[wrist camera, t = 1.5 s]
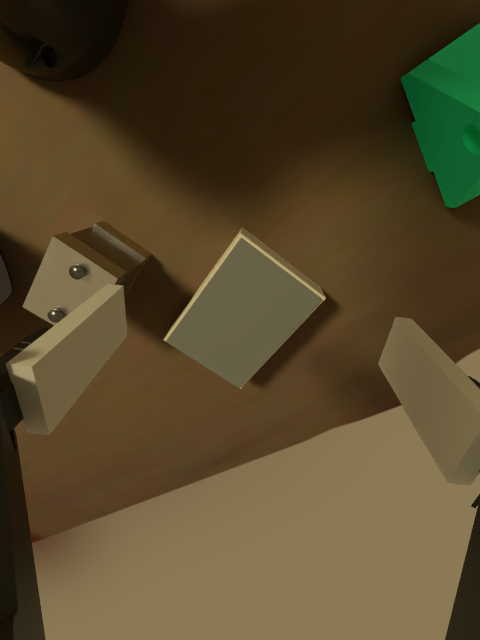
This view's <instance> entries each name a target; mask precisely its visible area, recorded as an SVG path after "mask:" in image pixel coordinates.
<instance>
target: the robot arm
mask: <svg viewBox="0 0 480 640" xmlns="http://www.w3.org/2000/svg"><path fill="white" fill-rule="evenodd" d="M126 1H127V0H0V61H1V62H3V63H5V64H7V65H8V66H10V67H13V68H15V69H17V70H20V71H22V72H24V73H27V74H29V75H32V76H34V77H37V78H41V79H46V80H55V81H59V80H69V79H73V78H76V77H79V76H81V75H84V74H86V73H87V72H89V71H90V70H92V69H93V68H95V67H96V66H97V65H98V64H99V63H100V62H101V61H102V60H103V59H104V58H105V56H106V55H107V54H108V52H109V51H110V49H111V48H112V46H113V44H114V42H115V40H116V38H117V36H118V34H119V31H120V28H121V25H122V22H123V18H124V13H125V8H126ZM126 336H127V325H126V312H125V300H124V288H123V286H121V285H113V284H107V285H106V286H104V287H103V288H102V289H100V290H99V291H98V292H97V293H95V294H94V295H93V296H92V297H90V298H89V299H88V300H86V301H85V302H84V303H83V304H81V305H80V306H79V307H78V308H76V309H75V310H74V311H72V312H71V313H70V314H69V315H67V316H66V317H65V318H63V319H62V320H61V321H60V322H58V323H57V324H56V325H55V326H53V327H52V328H51V329H50V328H45V329H42V330H40V331H37V332H35V333H33V334H31V335H30V336H28V337H27V338H26V339H24V340H23V341H22V343H19V344H18V345H16V346H15V347H14V349H11V350H9V351H8V352H7V353H5V354H4V355H3V356H1V357H0V640H45V633H44V626H43V619H42V612H41V605H40V598H39V592H38V584H37V577H36V571H35V563H34V556H33V549H32V542H31V535H30V528H29V521H28V514H27V507H26V500H25V493H24V486H23V479H22V472H21V465H20V458H19V451H18V444H17V437H16V433H15V430H14V428H15V427H16V426H17V424H18V423H19V422H20V421H21V420H22V419H23V422H24V425H25V429H26V432H29V433H37V434H46V435H50V434H51V432H52V431H53V430H54V429H55V427H56V426H57V425H58V423H59V422H60V421H61V420H62V418H63V417H64V416H65V414H66V413H67V412H68V411H69V409H70V408H71V407H72V405H73V404H74V403H75V402H76V400H77V399H78V398H79V396H80V395H81V394H82V393H83V391H84V390H85V389H86V387H87V386H88V385H89V384H90V382H91V381H92V380H93V379H94V377H95V376H96V375H97V373H98V372H99V371H100V370H101V368H102V367H103V366H104V364H105V363H106V362H107V361H108V359H109V358H110V357H111V355H112V354H113V353H114V352H115V350H116V349H117V348H118V346H119V345H120V344H121V343H122V341H123V340H124V339H125V337H126ZM378 365H379V367H380V368H381V370H382V372H383V373H384V375H385V377H386V379H387V380H388V382H389V384H390V385H391V387H392V389H393V391H394V392H395V394H396V396H397V397H398V399H399V401H400V403H401V404H402V406H403V407H404V409H405V411H406V413H407V415H408V416H409V418H410V419H411V421H412V423H413V425H414V427H415V428H416V430H417V432H418V433H419V435H420V437H421V439H422V440H423V442H424V444H425V445H426V447H427V449H428V451H429V452H430V454H431V456H432V457H433V459H434V461H435V463H436V464H437V466H438V468H439V469H440V471H441V473H442V475H443V476H444V478H445V480H446V481H447V483H456V484H464V485H471V484H472V483H473V481H474V480H475V478H476V477H477V475H478V474H479V473H480V383H479V382H478V381H476V380H475V379H473V378H472V377H470V376H467V375H466V374H465V373H464V372H463V371H462V370H461V369H460V368H459V367H458V366H457V365H456V364H455V363H454V362H453V361H452V360H451V359H450V358H449V357H448V356H447V355H446V354H445V353H444V352H443V351H442V349H441V348H440V347H439V346H438V345H437V344H436V343H435V342H434V341H433V340H432V339H431V338H430V337H429V336H428V335H427V334H426V333H425V332H424V331H423V330H422V329H421V328H420V327H419V326H418V325H417V324H416V323H415V322H414V321H413V320H412V319H409V318H401V317H395V320H394V323H393V325H392V328H391V331H390V333H389V336H388V339H387V342H386V344H385V347H384V350H383V352H382V355H381V358H380V360H379V363H378ZM471 506H472V507H473V508H476V507H477V506H478V509H477V513H476V517H475V521H474V525H473V529H472V533H471V537H470V541H469V545H468V549H467V553H466V557H465V561H464V565H463V569H462V573H461V578H460V582H459V586H458V590H457V594H456V598H455V602H454V606H453V610H452V614H451V618H450V622H449V626H448V630H447V634H446V638H445V640H480V494H479V496H478V497H477V499H476V500H475V501H474V503H473V504H472V505H471Z"/></svg>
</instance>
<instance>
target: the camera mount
mask: <svg viewBox="0 0 480 640" xmlns="http://www.w3.org/2000/svg"><path fill="white" fill-rule="evenodd" d="M400 79H401V82H402V84H403V87H404V90H405V93H406V96H407V99H408V101H409V104H410V107H411V110H412V113H413V115H414V118H415V121H414V122H412V123H411V124H412V127H413V129H414V132H415V135H416V138H417V140H418V143H419V146H420V149H421V152H422V154H423V157H424V160H425V163H426V165H427V168H428V171H429V172H434V174H435V177H436V180H437V183H438V186H439V188H440V191H441V194H442V197H443V200H444V202H445V205H446V207H451V208H456V207H458V206H460V205H462V204H464V203H465V202H467V201H469V200H471V199H473V198H475V197H476V196H478V195H480V23H479V24H477V25H476V26H474V27H473V28H472V29H470V30H469V31H467V32H466V33H464V34H463V35H462V36H460V37H459V38H457V39H456V40H454V41H453V42H452V43H450V44H449V45H447V46H446V47H444V48H443V49H442V50H440V51H439V52H437V53H436V54H434V55H433V56H431V57H430V58H429V59H427V60H426V61H424V62H423V63H421V64H420V65H419V66H417V67H416V68H414V69H413V70H411V71H410V72H409V73H407V74H406V75H404V76H403V77H401V78H400Z"/></svg>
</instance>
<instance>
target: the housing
mask: <svg viewBox="0 0 480 640" xmlns="http://www.w3.org/2000/svg"><path fill="white" fill-rule="evenodd" d="M150 255H151V253H150V252H148V251H147V250H145V249H144V248H142V247H141V246H140V245H138V244H137V243H135V242H134V241H132V240H131V239H129V238H128V237H127V236H125V235H124V234H122V233H121V232H119V231H118V230H116V229H115V228H114V227H112V226H111V225H109V224H108V223H106V222H105V221H101V222H97V223H95V224H94V226H93V227H90V228H87V229H84V230H81V231H78V232H75V233H72V234H69V233H68V232H65V233H62V234H58V235H55V236H53V237H52V240H51V242H50V244H49V246H48V249H47V251H46V253H45V256H44V258H43V260H42V263H41V265H40V267H39V270H38V272H37V274H36V276H35V279H34V281H33V283H32V286H31V288H30V290H29V293H28V295H27V297H26V300H25V302H24V304H23V306H22V307H23V308H25V309H27V310H29V311H30V312H32V313H34V314H35V315H37V316H39V317H40V318H42V319H44V320H45V321H47V322H49V323H51V324H52V325H54V326H55V325H56V324H57V323H58V322H60V321H61V320H62V319H63V318H65V317H66V316H67V315H69V314H70V313H71V312H72V311H74V310H75V309H76V308H78V307H79V306H80V305H81V304H83V303H84V302H85V301H86V300H88V299H89V298H90V297H92V296H93V295H94V294H95V293H97V292H98V291H99V290H100V289H102V288H103V287H104V286H106V285H107V284H113V285H121V286H123V288H124V299H125V297H126V295H127V294H128V292H129V290H130V289H131V287H132V285H133V284H134V282H135V280H136V279H137V277H138V275H139V274H140V272H141V270H142V269H143V267H144V265H145V264H146V262H147V260H148V259H149V257H150Z"/></svg>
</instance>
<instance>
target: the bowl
mask: <svg viewBox="0 0 480 640" xmlns="http://www.w3.org/2000/svg"><path fill="white" fill-rule="evenodd" d="M11 292H12V289H11V282H10V279H9V276H8V272H7V269H6V266H5V264H4V262H3V259H2V257H1V255H0V304H1V303H2V302H3V301H4V300H5V299H6V298H8V297H9V296H10V294H11Z"/></svg>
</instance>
